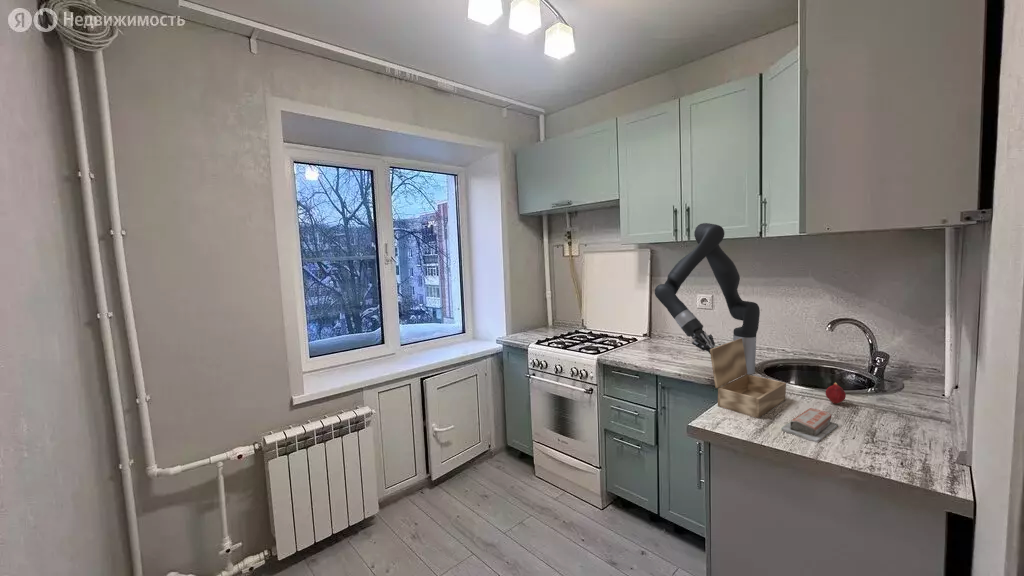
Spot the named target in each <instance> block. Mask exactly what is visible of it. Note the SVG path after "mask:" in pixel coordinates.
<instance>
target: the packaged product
mask: <svg viewBox="0 0 1024 576" xmlns="http://www.w3.org/2000/svg"><path fill="white" fill-rule="evenodd" d="M831 420H832V414H831V413H829V412H828V411H824V410H821V409H819V408H818V409H817V408H813V407H809V408H807V409H806V410H805V411H803V412H802V413H800V414H799V415H797V416H796V417H794V418H793V419H791V420H790V422H789V423H787V424H785V425H783V426H782V427H781V428H780V429H781V432H782V431H783V433H785V432H786V434H790V435H791V434H792V436H794V435H795V436H794V437H798V438H801V439H803V440H804V439H805V440H807V441H810V442H814V443H816V444H817V443H819V442H820V441H821V440H822V439H824V437H826V436H827V435H829V434H830V433H831V432H832V431H834V429H836V428H837V427H838V426H839V423H835V422H832V421H831Z"/></svg>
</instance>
